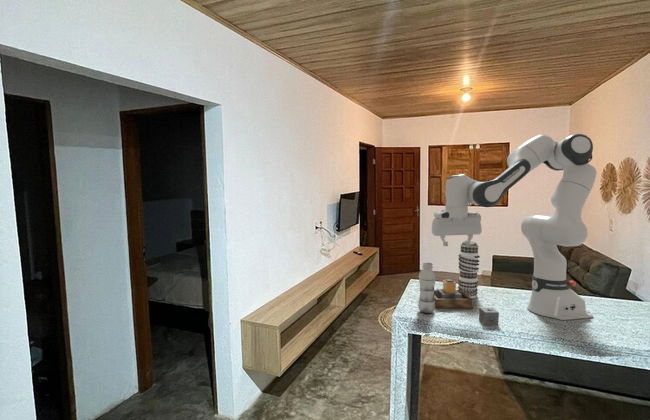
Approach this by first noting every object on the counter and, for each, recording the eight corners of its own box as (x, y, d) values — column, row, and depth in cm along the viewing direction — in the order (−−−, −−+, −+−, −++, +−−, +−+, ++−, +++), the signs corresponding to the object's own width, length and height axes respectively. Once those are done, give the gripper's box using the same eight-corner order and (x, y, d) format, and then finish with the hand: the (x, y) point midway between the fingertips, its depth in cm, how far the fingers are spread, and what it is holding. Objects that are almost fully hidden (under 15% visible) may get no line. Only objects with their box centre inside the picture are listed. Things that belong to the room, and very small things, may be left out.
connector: (451, 300, 156) (452, 278, 155) (455, 303, 152) (455, 281, 151) (442, 300, 155) (443, 278, 155) (445, 303, 151) (446, 281, 151)
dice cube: (484, 325, 130) (485, 312, 130) (479, 320, 135) (479, 307, 135) (498, 325, 130) (498, 312, 130) (492, 320, 135) (492, 307, 135)
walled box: (459, 298, 160) (460, 286, 160) (472, 308, 147) (472, 296, 147) (426, 298, 160) (427, 287, 160) (436, 308, 147) (436, 296, 147)
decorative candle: (472, 291, 170) (474, 240, 168) (482, 298, 161) (484, 243, 159) (453, 292, 169) (455, 240, 167) (462, 298, 160) (464, 244, 158)
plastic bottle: (436, 315, 140) (437, 265, 138) (418, 314, 141) (419, 264, 139) (434, 309, 146) (435, 262, 144) (417, 308, 147) (418, 261, 146)
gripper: (477, 211, 152) (477, 243, 154) (430, 213, 152) (430, 244, 153) (484, 212, 146) (484, 245, 147) (435, 214, 146) (435, 247, 147)
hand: (456, 245), depth 150 cm, fingers open, 8 cm apart
